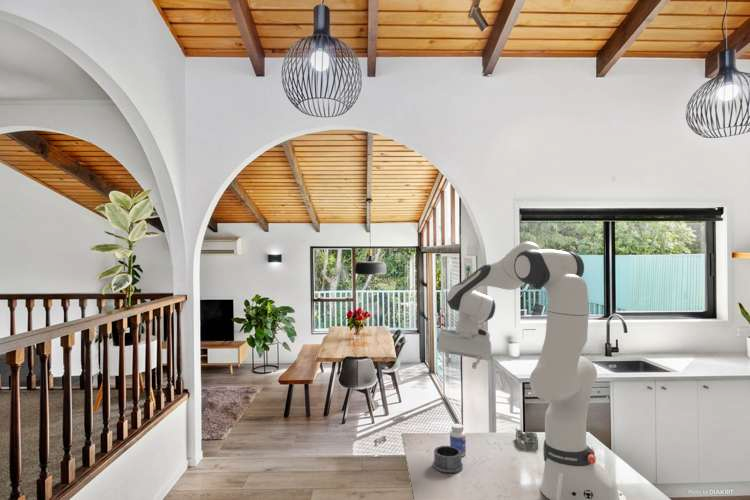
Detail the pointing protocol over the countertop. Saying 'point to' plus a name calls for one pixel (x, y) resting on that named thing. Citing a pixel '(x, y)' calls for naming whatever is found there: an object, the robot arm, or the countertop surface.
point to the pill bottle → (458, 438)
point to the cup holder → (447, 460)
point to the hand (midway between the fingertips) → (461, 365)
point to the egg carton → (527, 439)
